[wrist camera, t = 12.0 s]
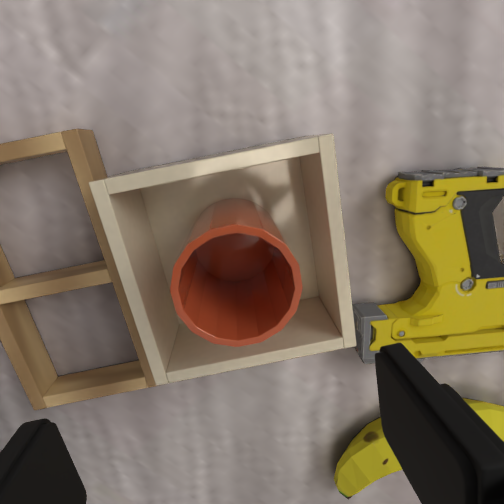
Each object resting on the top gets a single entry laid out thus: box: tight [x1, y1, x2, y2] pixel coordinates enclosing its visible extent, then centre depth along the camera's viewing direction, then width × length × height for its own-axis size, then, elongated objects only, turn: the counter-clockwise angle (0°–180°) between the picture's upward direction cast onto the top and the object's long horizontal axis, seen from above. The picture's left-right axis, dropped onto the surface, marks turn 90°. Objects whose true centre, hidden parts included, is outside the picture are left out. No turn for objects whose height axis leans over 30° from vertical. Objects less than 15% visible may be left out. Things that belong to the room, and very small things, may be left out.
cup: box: [170, 198, 303, 347], centre depth 21 cm, size 6×6×8 cm
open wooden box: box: [89, 134, 356, 386], centre depth 22 cm, size 13×13×7 cm
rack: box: [0, 129, 159, 410], centre depth 24 cm, size 10×19×2 cm, turn 11°
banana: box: [334, 398, 504, 499], centre depth 32 cm, size 5×17×15 cm
